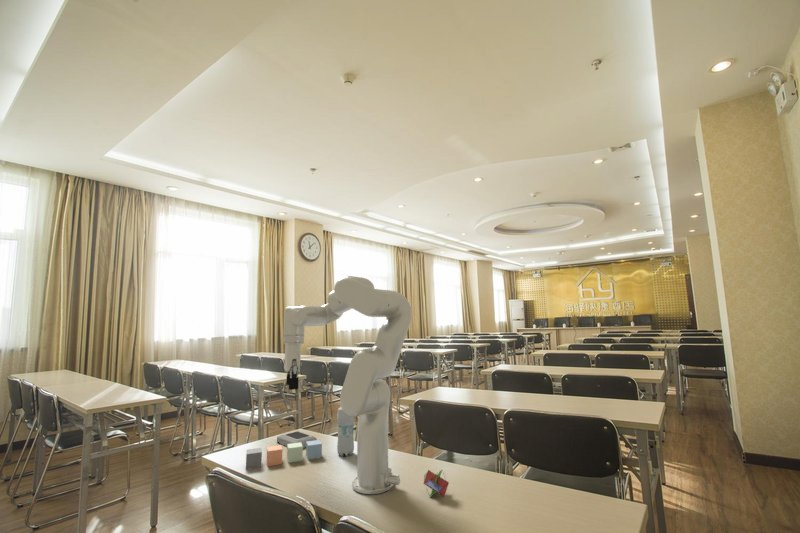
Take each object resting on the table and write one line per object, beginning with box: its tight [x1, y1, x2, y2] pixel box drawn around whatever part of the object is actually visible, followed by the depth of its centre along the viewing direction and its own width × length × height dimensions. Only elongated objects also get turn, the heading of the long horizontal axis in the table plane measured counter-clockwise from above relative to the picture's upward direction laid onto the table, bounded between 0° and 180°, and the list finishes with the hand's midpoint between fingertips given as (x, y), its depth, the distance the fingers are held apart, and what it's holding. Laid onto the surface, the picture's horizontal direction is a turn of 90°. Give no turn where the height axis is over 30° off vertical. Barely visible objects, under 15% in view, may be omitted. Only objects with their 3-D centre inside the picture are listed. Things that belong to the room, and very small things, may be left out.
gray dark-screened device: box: [276, 430, 318, 449], centre depth 154 cm, size 10×4×15 cm
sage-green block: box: [286, 442, 304, 464], centre depth 136 cm, size 5×5×5 cm
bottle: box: [336, 406, 356, 457], centre depth 141 cm, size 7×7×20 cm
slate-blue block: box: [305, 439, 323, 460], centre depth 138 cm, size 5×5×5 cm
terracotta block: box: [266, 444, 283, 467], centre depth 133 cm, size 5×5×5 cm
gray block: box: [245, 447, 263, 470], centre depth 131 cm, size 5×5×5 cm
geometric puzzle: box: [423, 469, 450, 497], centre depth 107 cm, size 7×7×8 cm
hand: (292, 386), depth 136 cm, fingers open, 9 cm apart
